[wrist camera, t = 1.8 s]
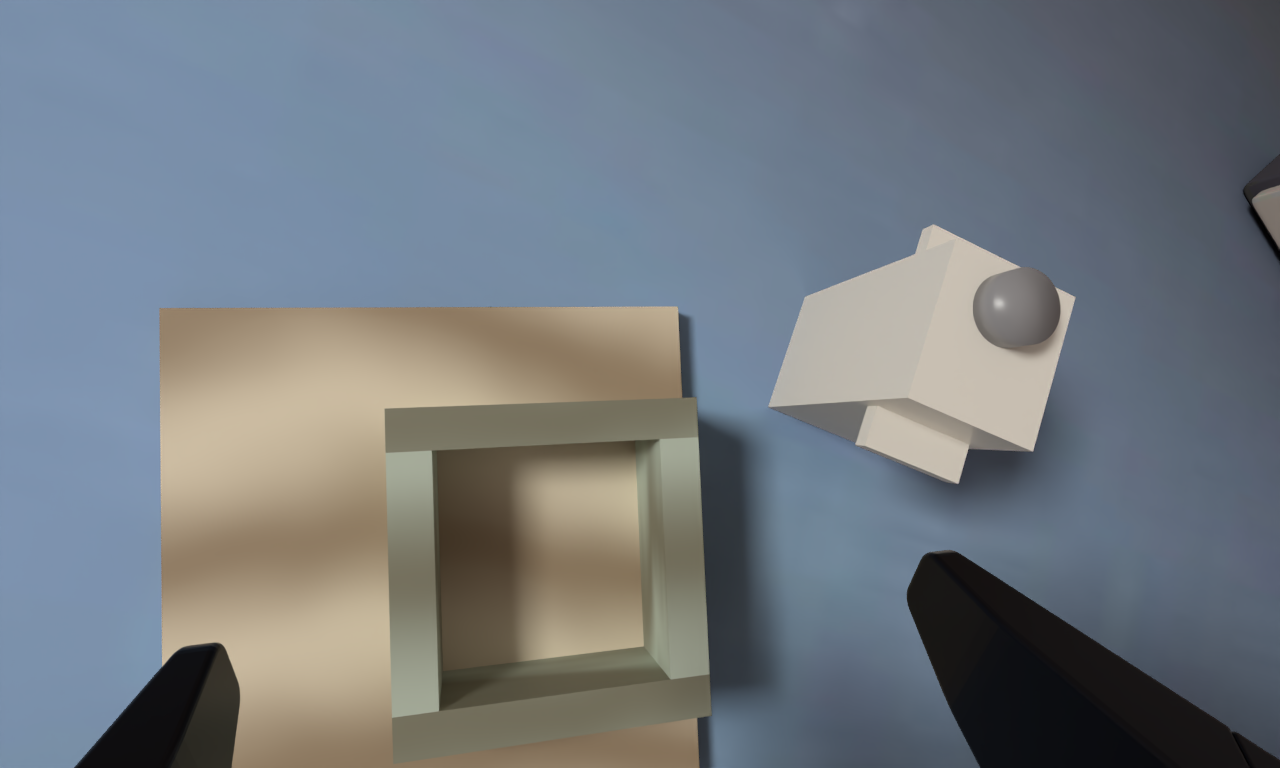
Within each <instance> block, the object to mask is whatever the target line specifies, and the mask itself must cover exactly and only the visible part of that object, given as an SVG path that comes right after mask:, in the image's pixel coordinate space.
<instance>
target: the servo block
mask: <svg viewBox="0 0 1280 768" xmlns="http://www.w3.org/2000/svg"><path fill="white" fill-rule="evenodd" d="M1074 301H1075V297H1074V296H1072V295H1070V294H1068V293H1066V292H1064V291H1062V290H1060V289H1058V288H1056V287H1055V286H1054V285H1053V283H1052V282H1051V280H1050V279H1049V278H1048V277H1047V276H1046V275H1045V274H1043V273H1042V272H1040V271H1039V270H1036V269H1034V268H1029V267H1019V266H1017V265H1015V264H1013V263H1010V262H1008V261H1006V260H1004V259H1002V258H1000V257H998V256H996V255H994V254H992V253H990V252H988V251H986V250H984V249H982V248H980V247H978V246H976V245H974V244H972V243H970V242H968V241H966V240H964V239H962V238H960V237H958V236H956V235H954V234H952V233H950V232H948V231H946V230H944V229H942V228H940V227H938V226H936V225H931V226H929V227H927V228H924V229H923V231H922V234H921V237H920V240H919V244H918V247H917V250H916V253H915V255H912V256H909V257H907V258H904V259H902V260H899V261H896V262H894V263H891V264H889V265H886V266H884V267H881V268H878V269H876V270H873V271H871V272H868V273H865V274H863V275H860V276H858V277H855V278H852V279H850V280H847V281H845V282H842V283H840V284H837V285H834V286H832V287H829V288H827V289H824V290H821V291H819V292H816V293H814V294H811V295H809V296H806V297H805V299H804V302H803V305H802V308H801V311H800V314H799V317H798V320H797V323H796V326H795V329H794V332H793V335H792V338H791V341H790V344H789V347H788V350H787V353H786V356H785V358H784V361H783V364H782V367H781V370H780V373H779V376H778V379H777V382H776V385H775V388H774V391H773V394H772V397H771V400H770V403H769V406H768V407H769V408H772V409H774V410H776V411H779V412H781V413H784V414H786V415H789V416H791V417H794V418H796V419H798V420H801V421H803V422H806V423H808V424H811V425H813V426H816V427H818V428H821V429H823V430H825V431H828V432H830V433H833V434H835V435H838V436H840V437H843V438H845V439H847V440H850V441H852V442H855V443H856V444H855V445H856V446H858V447H861V448H863V449H866V450H868V451H871V452H873V453H876V454H878V455H880V456H883V457H885V458H888V459H890V460H893V461H895V462H898V463H900V464H903V465H905V466H907V467H910V468H912V469H915V470H917V471H920V472H922V473H925V474H927V475H930V476H932V477H934V478H937V479H939V480H942V481H944V482H947V483H955V484H958V483H959V480H960V476H961V473H962V469H963V466H964V462H965V459H966V455H967V452H968V449H982V450H1005V451H1029V452H1033V450H1034V446H1035V442H1036V439H1037V435H1038V431H1039V428H1040V424H1041V421H1042V417H1043V413H1044V410H1045V406H1046V402H1047V399H1048V395H1049V391H1050V388H1051V384H1052V381H1053V377H1054V373H1055V370H1056V366H1057V362H1058V359H1059V355H1060V351H1061V348H1062V344H1063V341H1064V337H1065V333H1066V330H1067V326H1068V322H1069V319H1070V315H1071V312H1072V308H1073V304H1074Z"/></svg>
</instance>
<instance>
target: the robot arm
mask: <svg viewBox="0 0 1280 768" xmlns="http://www.w3.org/2000/svg"><path fill="white" fill-rule="evenodd" d="M907 602H908V606H909V609H910V612H911V614H912V617H913V619H914V622H915V624H916V627H917V629H918V632H919V634H920V637H921V639H922V642H923V644H924V647H925V649H926V652H927V654H928V656H929V659H930V661H931V664H932V666H933V669H934V671H935V674H936V676H937V679H938V681H939V684H940V686H941V689H942V691H943V693H944V696H945V698H946V700H947V702H948V705H949V707H950V709H951V711H952V713H953V715H954V717H955V719H956V721H957V723H958V725H959V727H960V729H961V731H962V733H963V735H964V737H965V739H966V741H967V743H968V745H969V747H970V749H971V751H972V752H973V754H974V756H975V758H976V760H977V762H978V764H979V766H980V768H1280V760H1279V759H1277V758H1276V757H1274V756H1273V755H1271V754H1269V753H1268V752H1266V751H1265V750H1263V749H1262V748H1260V747H1259V746H1257V745H1256V744H1254V743H1252V742H1251V741H1249V740H1248V739H1246V738H1245V737H1243V736H1242V735H1240V734H1239V733H1237V732H1231V731H1230V729H1229V728H1228V727H1227V726H1226V725H1224V724H1223V723H1221V722H1220V721H1218V720H1217V719H1215V718H1213V717H1212V716H1210V715H1209V714H1207V713H1206V712H1204V711H1203V710H1201V709H1200V708H1198V707H1196V706H1195V705H1193V704H1192V703H1190V702H1189V701H1187V700H1186V699H1184V698H1183V697H1181V696H1179V695H1178V694H1176V693H1175V692H1173V691H1172V690H1170V689H1169V688H1167V687H1165V686H1164V685H1162V684H1161V683H1159V682H1158V681H1156V680H1155V679H1153V678H1152V677H1150V676H1148V675H1147V674H1145V673H1144V672H1142V671H1141V670H1139V669H1138V668H1136V667H1135V666H1133V665H1131V664H1130V663H1128V662H1127V661H1125V660H1124V659H1122V658H1121V657H1119V656H1118V655H1116V654H1114V653H1113V652H1111V651H1110V650H1108V649H1107V648H1105V647H1104V646H1102V645H1100V644H1099V643H1097V642H1096V641H1094V640H1093V639H1091V638H1090V637H1088V636H1087V635H1085V634H1083V633H1082V632H1080V631H1079V630H1077V629H1076V628H1074V627H1073V626H1071V625H1070V624H1068V623H1066V622H1065V621H1063V620H1062V619H1060V618H1059V617H1057V616H1056V615H1054V614H1053V613H1051V612H1049V611H1048V610H1046V609H1045V608H1043V607H1042V606H1040V605H1039V604H1037V603H1035V602H1034V601H1032V600H1031V599H1029V598H1028V597H1026V596H1025V595H1023V594H1022V593H1020V592H1018V591H1017V590H1015V589H1014V588H1012V587H1011V586H1009V585H1008V584H1006V583H1005V582H1003V581H1001V580H1000V579H998V578H997V577H995V576H994V575H992V574H991V573H989V572H987V571H986V570H984V569H983V568H981V567H980V566H978V565H977V564H975V563H974V562H972V561H970V560H969V559H967V558H966V557H964V556H963V555H961V554H959V553H958V552H955V551H952V550H944V551H936V552H929V553H927V554H925V555H924V556H923V557H922V559H921V561H920V563H919V565H918V567H917V569H916V572H915V574H914V576H913V578H912V580H911V583H910V585H909V587H908V590H907ZM239 708H240V687H239V683H238V680H237V677H236V675H235V672H234V669H233V667H232V664H231V662H230V659H229V656H228V654H227V651H226V649H225V647H224V646H223V645H222V644H221V643H219V642H213V643H205V644H197V645H189V646H185V647H182V648H180V649H179V650H177V651H176V652H175V653H174V654H173V655H172V656H171V657H170V658H169V659H168V660H167V662H166V663H165V664H164V665H163V666H162V667H161V669H160V670H159V671H158V672H157V673H156V674H155V675H154V677H153V678H152V679H151V680H150V681H149V682H148V683H147V685H146V686H145V687H144V688H143V689H142V690H141V692H140V693H139V694H138V695H137V696H136V697H135V698H134V700H133V701H132V702H131V703H130V704H129V705H128V706H127V708H126V709H125V710H124V711H123V712H122V713H121V715H120V716H119V717H118V718H117V719H116V720H115V721H114V723H113V724H112V725H111V726H110V727H109V728H108V729H107V731H106V732H105V733H104V734H103V735H102V736H101V738H100V739H99V740H98V741H97V742H96V743H95V744H94V746H93V747H92V748H91V749H90V750H89V751H88V752H87V754H86V755H85V756H84V757H83V758H82V759H81V761H80V762H79V763H78V764H77V765H76V766H75V767H74V768H232V761H233V753H234V746H235V738H236V731H237V723H238V715H239Z"/></svg>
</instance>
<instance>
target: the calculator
mask: <svg viewBox="0 0 1280 768" xmlns="http://www.w3.org/2000/svg"><path fill="white" fill-rule="evenodd" d="M1244 194H1245V196H1246V198H1247V199H1248V201H1249V203H1250V204H1251V206H1252V208H1253V209H1254V211H1255V212H1256V214H1257V216H1258V217H1259V219H1260V221H1261V222H1262V224H1263V226H1264V227H1265V229H1266V231H1267V232H1268V234H1269V235H1270V237H1271V239H1272V240H1273V242H1274V244H1275V245H1276V247H1277V249H1278V250H1279V252H1280V155H1278V156H1277V157H1276V158H1275V159H1274V160H1273V161H1272V162H1271V163H1269V164H1268V165H1267V166H1266V167H1265V168H1264V169H1263V170H1262V171H1261V172H1260V173H1259V174H1257V175H1256V176H1255V177H1254V178H1253V179H1252V180H1251V181H1250V182H1249V183H1248V184H1247V185H1246V186H1245V188H1244Z"/></svg>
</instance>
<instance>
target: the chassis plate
mask: <svg viewBox="0 0 1280 768" xmlns="http://www.w3.org/2000/svg"><path fill="white" fill-rule="evenodd" d="M160 432H161V566H162V666H163V665H164V664H165V663H166V662H167V660H168V659H169V658H170V657H171V656H172V655H173V654H174V653H175V652H176V651H177V650H179V649H180V648H182V647H185V646H189V645H197V644H205V643H213V642H219V643H221V644H222V645H223V646H224V647H225V649H226V651H227V654H228V656H229V659H230V662H231V664H232V667H233V669H234V672H235V675H236V677H237V680H238V683H239V687H240V708H239V715H238V723H237V731H236V738H235V746H234V753H233V761H232V768H699V750H698V729H697V718H700V717H706V716H712V714H711V693H710V672H709V651H708V630H707V609H706V588H705V567H704V546H703V525H702V504H701V483H700V462H699V441H698V420H697V399H696V397H693V398H682V385H681V363H680V342H679V320H678V307H416V308H160Z"/></svg>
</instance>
